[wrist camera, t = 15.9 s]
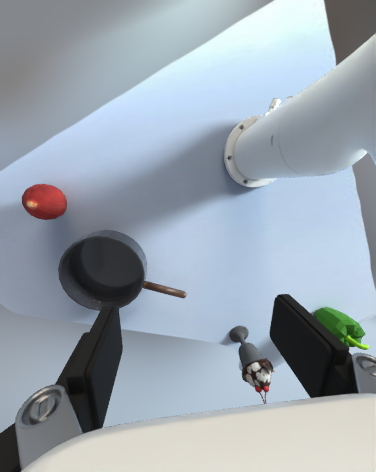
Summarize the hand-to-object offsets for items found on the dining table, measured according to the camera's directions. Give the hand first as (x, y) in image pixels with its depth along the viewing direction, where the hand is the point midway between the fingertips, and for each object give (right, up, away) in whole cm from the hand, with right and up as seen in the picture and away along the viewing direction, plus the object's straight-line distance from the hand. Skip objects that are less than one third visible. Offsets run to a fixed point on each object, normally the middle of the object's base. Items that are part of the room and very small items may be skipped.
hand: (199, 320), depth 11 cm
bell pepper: (+35, -16, +38) cm, 54 cm away
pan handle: (-6, -6, +27) cm, 28 cm away
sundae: (+12, -20, +37) cm, 44 cm away
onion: (-25, +12, +24) cm, 36 cm away
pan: (-17, -1, +28) cm, 33 cm away
